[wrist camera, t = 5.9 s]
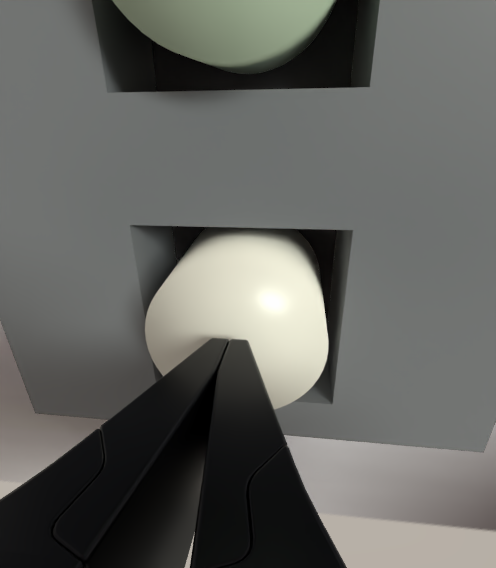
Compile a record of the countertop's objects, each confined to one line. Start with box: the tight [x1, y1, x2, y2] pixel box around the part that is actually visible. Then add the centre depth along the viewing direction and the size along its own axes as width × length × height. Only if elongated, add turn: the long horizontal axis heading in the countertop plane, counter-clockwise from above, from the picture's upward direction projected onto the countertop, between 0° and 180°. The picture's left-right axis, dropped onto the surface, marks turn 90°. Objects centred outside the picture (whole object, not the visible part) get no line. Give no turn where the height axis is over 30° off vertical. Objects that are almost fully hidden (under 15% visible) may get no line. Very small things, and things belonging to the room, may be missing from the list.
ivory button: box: [145, 227, 328, 409], centre depth 10 cm, size 4×4×4 cm
